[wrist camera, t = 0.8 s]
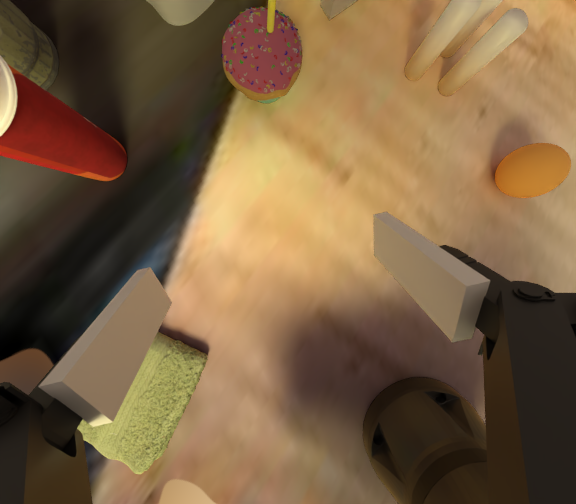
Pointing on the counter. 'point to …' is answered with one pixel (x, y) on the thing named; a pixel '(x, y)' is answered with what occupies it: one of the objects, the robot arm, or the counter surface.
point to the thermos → (26, 46)
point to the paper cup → (53, 131)
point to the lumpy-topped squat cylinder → (180, 10)
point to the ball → (532, 170)
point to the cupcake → (262, 53)
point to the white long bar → (335, 6)
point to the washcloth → (150, 405)
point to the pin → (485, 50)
